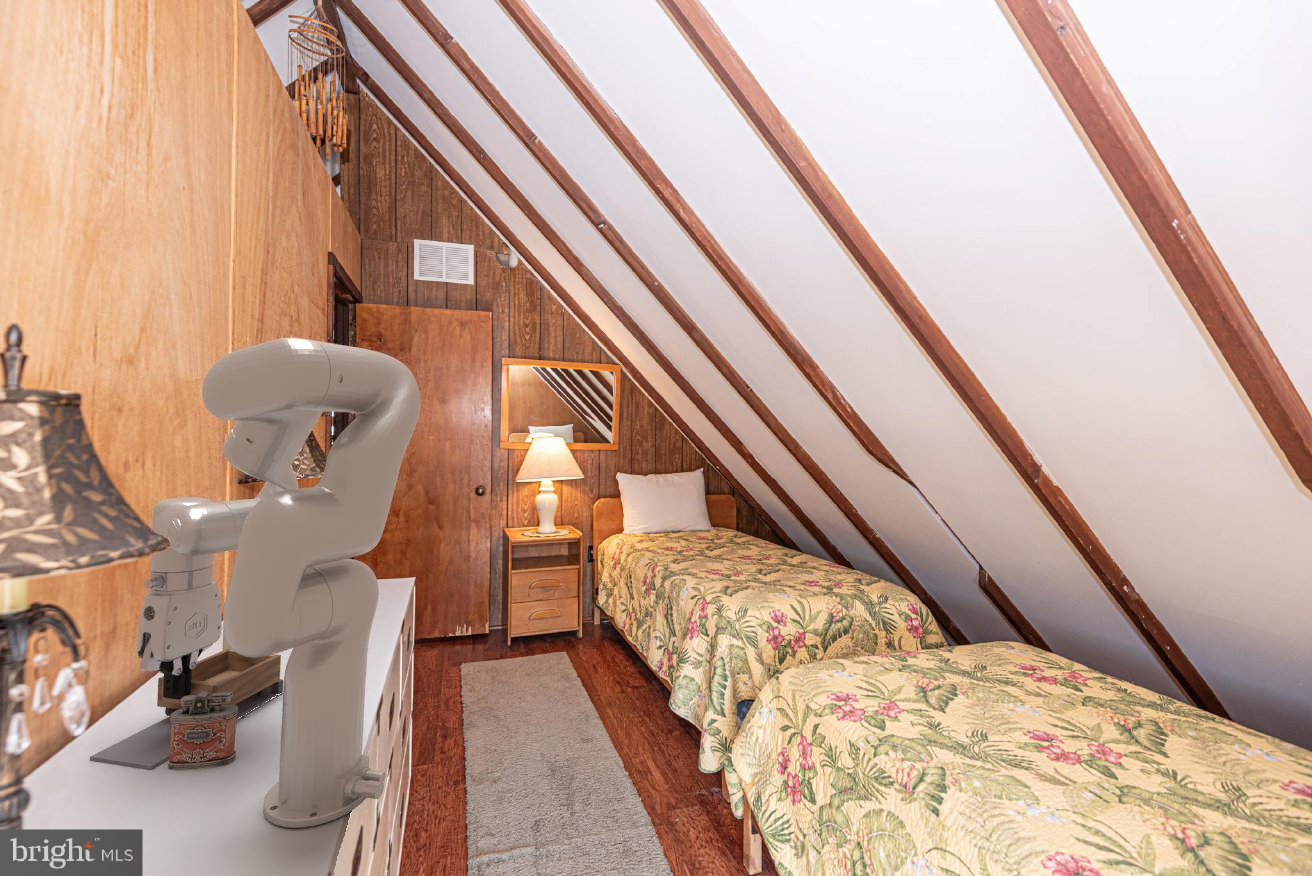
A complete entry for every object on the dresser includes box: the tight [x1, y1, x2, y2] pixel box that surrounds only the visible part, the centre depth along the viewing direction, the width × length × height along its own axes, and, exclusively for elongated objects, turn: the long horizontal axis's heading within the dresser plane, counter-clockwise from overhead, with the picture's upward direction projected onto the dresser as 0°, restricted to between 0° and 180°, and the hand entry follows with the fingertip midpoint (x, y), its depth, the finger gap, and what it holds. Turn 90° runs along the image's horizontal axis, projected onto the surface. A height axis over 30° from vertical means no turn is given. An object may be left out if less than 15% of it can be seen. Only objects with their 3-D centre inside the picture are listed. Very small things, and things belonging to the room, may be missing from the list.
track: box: [89, 678, 284, 771], centre depth 92 cm, size 10×24×2 cm, turn 172°
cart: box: [156, 649, 282, 717], centre depth 96 cm, size 11×13×7 cm
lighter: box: [167, 691, 238, 771], centre depth 82 cm, size 8×3×10 cm, turn 105°
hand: (176, 696), depth 88 cm, fingers closed
